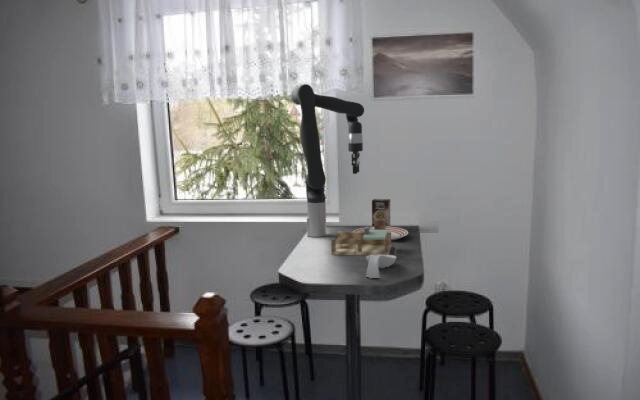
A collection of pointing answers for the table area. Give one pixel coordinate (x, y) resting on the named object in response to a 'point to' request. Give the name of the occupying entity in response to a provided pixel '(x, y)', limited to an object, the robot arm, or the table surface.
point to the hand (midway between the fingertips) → (356, 173)
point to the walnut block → (379, 224)
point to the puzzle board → (359, 244)
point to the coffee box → (381, 210)
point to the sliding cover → (374, 234)
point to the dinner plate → (395, 232)
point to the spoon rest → (378, 264)
